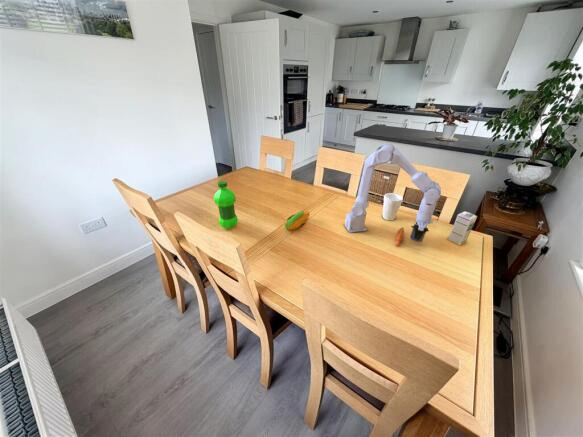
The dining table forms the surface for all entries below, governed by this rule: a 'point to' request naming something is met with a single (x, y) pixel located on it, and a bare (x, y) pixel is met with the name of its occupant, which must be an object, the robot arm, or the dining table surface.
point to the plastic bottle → (226, 206)
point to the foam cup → (391, 205)
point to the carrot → (399, 236)
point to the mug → (414, 234)
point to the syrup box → (462, 227)
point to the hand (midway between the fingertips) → (417, 235)
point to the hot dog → (296, 221)
